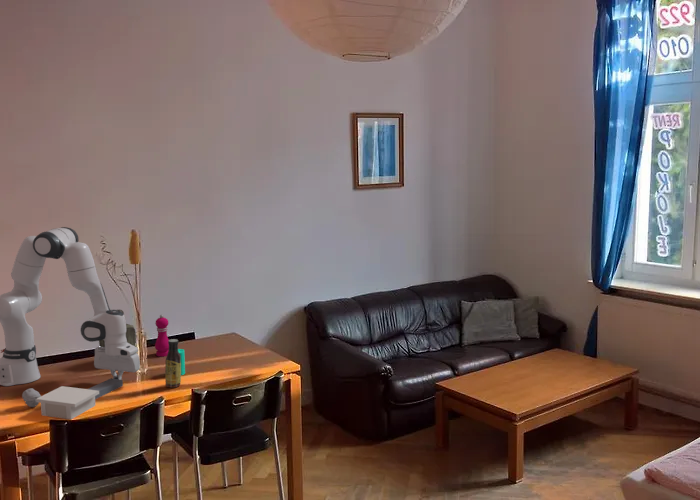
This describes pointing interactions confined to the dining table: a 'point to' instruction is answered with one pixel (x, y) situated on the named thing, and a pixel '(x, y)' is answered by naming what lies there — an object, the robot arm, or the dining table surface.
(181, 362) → the candle
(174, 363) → the sauce bottle
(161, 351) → the pepper mill
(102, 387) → the blue-grey bar
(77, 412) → the box with flat lid
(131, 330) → the tabletop clock
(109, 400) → the dining table surface
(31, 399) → the frog figurine
